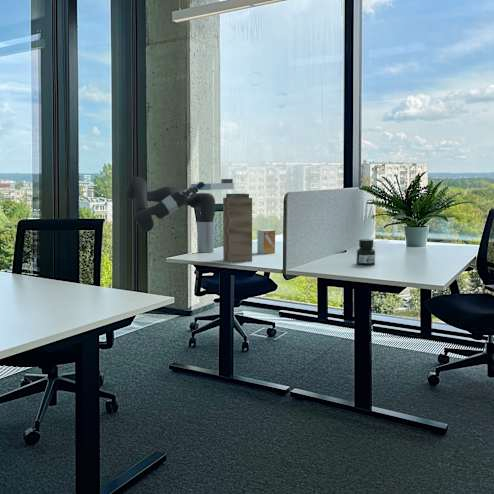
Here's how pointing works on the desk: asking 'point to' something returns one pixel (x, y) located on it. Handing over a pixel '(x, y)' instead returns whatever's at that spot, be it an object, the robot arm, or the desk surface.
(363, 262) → the ink bottle
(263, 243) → the small box
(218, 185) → the pale blue long bar
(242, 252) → the stand
